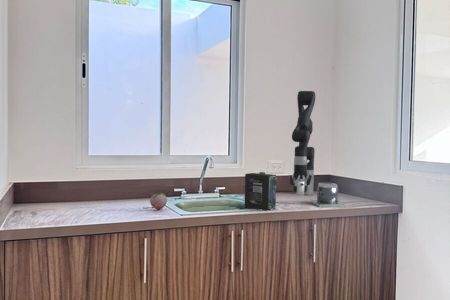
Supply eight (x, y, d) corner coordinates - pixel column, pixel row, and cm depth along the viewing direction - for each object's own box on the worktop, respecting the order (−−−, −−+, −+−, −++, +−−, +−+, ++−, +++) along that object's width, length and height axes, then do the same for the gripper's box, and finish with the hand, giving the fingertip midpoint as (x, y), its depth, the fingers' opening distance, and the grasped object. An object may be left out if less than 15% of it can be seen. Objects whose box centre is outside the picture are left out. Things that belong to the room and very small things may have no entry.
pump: (294, 193, 229) (294, 178, 228) (302, 193, 230) (302, 178, 229) (298, 195, 222) (298, 179, 222) (306, 195, 223) (306, 179, 223)
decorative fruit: (156, 208, 208) (156, 189, 207) (169, 209, 204) (169, 190, 204) (146, 211, 199) (146, 192, 199) (159, 212, 196) (160, 193, 195)
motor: (309, 202, 233) (309, 182, 232) (334, 202, 235) (334, 181, 235) (319, 207, 217) (320, 185, 217) (346, 206, 219) (346, 185, 219)
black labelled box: (270, 211, 203) (271, 173, 202) (242, 207, 214) (243, 171, 213) (277, 209, 210) (278, 172, 209) (250, 205, 221) (250, 170, 220)
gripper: (309, 163, 231) (309, 191, 231) (286, 163, 229) (286, 191, 229) (314, 164, 223) (313, 193, 224) (290, 164, 221) (290, 193, 222)
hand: (299, 192), depth 227 cm, fingers closed on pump, 5 cm apart
